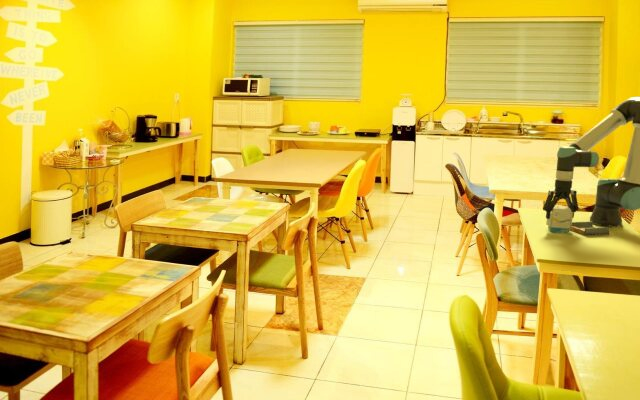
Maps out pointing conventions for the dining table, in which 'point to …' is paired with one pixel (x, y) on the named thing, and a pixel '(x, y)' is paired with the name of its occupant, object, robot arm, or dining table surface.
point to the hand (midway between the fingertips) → (559, 225)
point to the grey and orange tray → (588, 229)
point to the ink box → (560, 219)
